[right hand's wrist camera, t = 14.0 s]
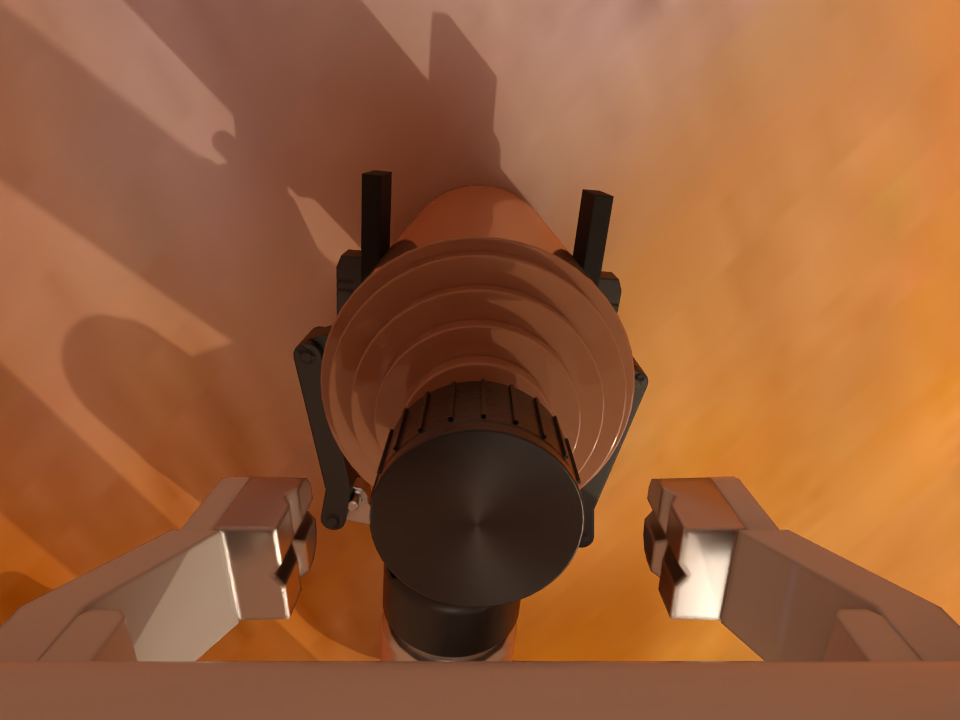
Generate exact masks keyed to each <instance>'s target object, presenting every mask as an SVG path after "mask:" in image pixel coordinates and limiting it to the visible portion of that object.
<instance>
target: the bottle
mask: <svg viewBox="0 0 960 720" xmlns="http://www.w3.org/2000/svg"><path fill="white" fill-rule="evenodd" d="M481 379H485V381H491V382H495V383H501V384H504V385H508V386H510V384H512V385H514V388H516V389H519V390H521V391H523V392H525V393H526V394H528V395H530V396H532V397H533V398H535V397H537V398H539V401H540V403H541V404H542V405H543V406H544V407H545V408H546V409H547V410H548V411H549V412H550V413H551V414H552V416H553V417H554V416H555V415H556V416H557V418H558V421H559V424H560V428H561V430H562V432H563V435H564V438H568V440H569V443H570V447H571V450H572V453H573V457H574V460H575V464H576V467H577V470H578V474H579V477H580V480H581V483H580V484H578V486H579V489H581V488H582V487H584V486H585V485H586V484H587V483H588V482H589V481H590V480H591V479H592V478H593V477H594V476H595V475H596V474H597V473H598V472H599V471H600V470H601V469H602V467H603V466H604V465H605V464H606V462H607V461H608V460H609V459H610V457H611V455H612V454H613V452H614V450H615V449H616V447H617V446H618V444H619V442H620V440H621V438H622V435H623V433H624V431H625V429H626V426H627V423H628V420H629V416H630V413H631V409H632V404H633V397H634V390H635V370H634V363H633V356H632V351H631V347H630V344H629V341H628V337H627V334H626V331H625V329H624V327H623V325H622V323H621V321H620V319H619V316H618V314H617V313H616V311H615V310H614V308H613V307H612V305H611V304H610V302H609V301H608V299H607V298H606V296H605V295H604V294H603V293H602V292H601V290H600V289H599V288H598V287H597V285H596V284H595V283H594V282H593V280H592V279H591V278H590V277H589V276H588V274H587V273H586V272H585V271H584V269H583V268H582V267H581V266H580V265H579V263H578V262H577V261H576V260H575V258H574V257H573V256H572V255H571V253H570V252H569V251H568V250H567V249H566V247H565V246H564V245H563V244H562V242H561V241H560V240H559V239H558V238H557V236H556V235H555V234H554V233H553V231H552V230H551V229H550V228H549V226H548V225H547V224H546V223H545V222H544V220H543V219H542V218H541V217H540V215H539V214H538V213H537V212H536V211H535V210H534V209H533V208H532V207H531V206H530V205H529V204H528V203H527V202H526V201H524V200H523V199H521V198H520V197H518V196H517V195H515V194H513V193H511V192H508V191H506V190H503V189H500V188H497V187H491V186H480V185H475V186H465V187H461V188H457V189H454V190H451V191H449V192H446V193H444V194H442V195H441V196H439V197H437V198H436V199H434V200H433V201H432V202H430V203H429V204H428V205H427V206H426V207H425V208H424V209H423V210H422V211H421V212H420V213H419V214H418V215H417V217H416V218H415V219H414V220H413V221H412V223H411V224H410V225H409V226H408V227H407V229H406V230H405V231H404V232H403V233H402V235H401V236H400V237H399V238H398V239H397V241H396V242H395V243H394V244H393V245H392V247H391V248H390V249H389V250H388V251H387V252H386V254H385V255H384V256H383V257H382V258H381V260H380V261H379V262H378V263H377V264H376V266H375V267H374V268H373V269H372V270H371V272H370V273H369V274H368V275H367V276H366V278H365V279H364V280H363V281H362V282H361V284H360V285H359V286H358V287H357V288H356V289H355V291H354V292H353V293H352V295H351V296H350V297H349V299H348V300H347V301H346V303H345V304H344V305H343V307H342V308H341V310H340V312H339V314H338V316H337V318H336V319H335V321H334V323H333V325H332V328H331V330H330V333H329V336H328V338H327V341H326V345H325V349H324V354H323V359H322V367H321V392H322V401H323V406H324V410H325V415H326V419H327V421H328V424H329V427H330V429H331V432H332V435H333V437H334V439H335V440H336V442H337V444H338V446H339V448H340V450H341V452H342V453H343V454H344V456H345V457H346V459H347V460H348V461H349V463H350V464H351V466H352V467H353V468H354V469H355V470H356V471H357V472H358V473H359V474H360V475H361V477H362V478H363V479H364V480H365V481H367V482H368V483H369V484H370V485H371V486H372V487H373V486H374V483H375V479H376V476H377V469H378V466H379V463H380V460H381V457H382V453H383V450H384V447H385V444H386V440H387V437H388V434H389V431H390V429H393V430H394V427H395V425H396V424H397V422H398V421H399V419H400V418H401V416H402V413H403V410H404V409H405V408H407V409H408V408H409V407H410V406H411V405H413V404H414V403H415V402H416V401H417V400H419V399H420V398H421V397H423V396H424V394H425V392H427V391H429V393H430V392H432V391H434V390H436V389H438V388H441V387H444V386H447V385H449V384H451V383H452V382H454V381H456V383H459V382H466V381H481Z"/></svg>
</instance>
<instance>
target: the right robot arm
mask: <svg viewBox="0 0 960 720" xmlns="http://www.w3.org/2000/svg"><path fill="white" fill-rule="evenodd" d="M312 499H313V497H312V491H311V485H310V482H309V481H308V479H307V478H278V477H253V478H252V477H226V478H222V479H221V480H220V481H219V482H218V483H217V485H216V486H215V487H214V488H213V490H212V491H211V492H210V493H209V495H208V496H207V497H206V498H205V500H204V501H203V502H202V503H201V505H200V506H199V507H198V508H197V510H196V511H195V512H194V513H193V515H192V516H191V517H190V518H189V520H188V521H187V522H186V524H185V525H184V526H183V527H182V529H181V530H171V531H169V532H167V533H165V534H163V535H161V536H159V537H157V538H155V539H153V540H151V541H149V542H147V543H145V544H143V545H141V546H139V547H137V548H135V549H133V550H131V551H129V552H127V553H125V554H123V555H121V556H119V557H117V558H115V559H113V560H111V561H109V562H107V563H105V564H103V565H102V566H100V567H98V568H96V569H94V570H92V571H90V572H88V573H86V574H84V575H82V576H80V577H78V578H76V579H74V580H72V581H70V582H68V583H66V584H64V585H62V586H60V587H58V588H56V589H54V590H52V591H50V592H48V593H46V594H44V595H42V596H40V597H38V598H36V599H34V600H32V601H30V602H28V603H27V604H25V605H23V606H21V607H19V608H18V609H17V610H16V611H15V612H14V613H13V614H12V615H11V616H10V617H9V618H8V619H7V620H6V621H5V622H4V623H3V624H2V625H1V626H0V720H960V626H959V625H958V624H957V623H956V622H955V621H954V620H953V619H952V618H951V617H950V616H949V615H948V614H947V613H946V612H945V611H944V610H943V609H942V608H941V607H939V606H937V605H935V604H933V603H931V602H929V601H927V600H925V599H923V598H921V597H919V596H917V595H915V594H913V593H911V592H909V591H907V590H905V589H904V588H902V587H900V586H898V585H896V584H894V583H892V582H890V581H888V580H886V579H884V578H882V577H880V576H878V575H876V574H874V573H872V572H870V571H868V570H866V569H864V568H862V567H860V566H858V565H856V564H854V563H852V562H850V561H848V560H846V559H845V558H843V557H841V556H839V555H837V554H835V553H833V552H831V551H829V550H827V549H825V548H823V547H821V546H819V545H817V544H815V543H813V542H811V541H809V540H807V539H805V538H803V537H801V536H799V535H797V534H795V533H793V532H791V531H789V530H779V529H778V527H777V526H776V525H775V524H774V522H773V521H772V520H771V519H770V517H769V516H768V515H767V514H766V512H765V511H764V510H763V509H762V507H761V506H760V505H759V504H758V502H757V501H756V500H755V499H754V497H753V496H752V495H751V494H750V492H749V491H748V490H747V489H746V487H745V486H744V485H743V484H742V482H741V481H740V480H739V479H738V478H735V477H733V476H731V477H706V478H671V479H652V480H651V482H650V485H649V490H648V497H647V499H648V501H649V503H650V505H651V507H652V510H653V511H652V512H651V513H650V514H649V515H648V516H647V517H646V518H645V522H644V533H643V536H644V550H645V554H646V559H647V562H648V565H649V567H650V570H651V571H652V572H653V573H654V574H656V575H657V576H658V577H660V581H659V589H658V590H659V592H660V594H661V597H662V599H663V602H664V604H665V606H666V609H667V611H668V614H669V616H670V618H671V619H700V620H721V623H722V624H723V625H724V626H726V627H727V628H728V629H729V630H730V631H731V632H732V633H734V634H735V635H736V636H737V637H738V638H739V639H740V640H742V641H743V642H744V643H745V644H746V645H747V646H748V647H749V648H751V649H752V650H753V651H754V652H755V653H756V654H757V655H759V656H760V657H761V658H762V659H763V660H764V661H196V660H197V659H198V658H199V657H201V656H202V655H203V654H204V653H205V652H206V651H207V650H209V649H210V648H211V647H212V646H213V645H214V644H215V643H216V642H218V641H219V640H220V639H221V638H222V637H223V636H224V635H226V634H227V633H228V632H229V631H230V630H231V629H232V628H234V627H235V626H236V625H237V624H238V623H239V620H259V619H290V616H291V614H292V611H293V609H294V607H295V604H296V602H297V599H298V597H299V594H300V592H301V590H302V589H301V581H300V577H302V576H303V575H304V574H306V573H307V572H308V571H309V570H310V567H311V565H312V562H313V559H314V554H315V548H316V522H315V518H314V517H313V516H312V515H311V514H310V513H309V512H308V511H307V510H308V507H309V505H310V503H311V501H312Z"/></svg>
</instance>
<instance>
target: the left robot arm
mask: <svg viewBox="0 0 960 720" xmlns="http://www.w3.org/2000/svg"><path fill="white" fill-rule="evenodd" d="M391 178H392V172H386V171H375V170H374V171H370V172H367V173H363V174H362V227H361V251H360V250H347V251H346V252H345V253H344V254H343V255H341V258H340V260H339V262H338V265H337V316H338V314H339V312H340V310H341V308H342V307H343V305H344V304H345V303H346V301H347V300H348V299H349V297H350V296H351V295H352V293H353V292H354V291H355V289H356V288H357V287H358V286H359V285H360V284H361V282H362V281H363V280H364V279H365V278H366V276H367V275H368V274H369V273H370V272H371V270H372V269H373V268H374V267H375V266H376V264H377V263H378V262H379V261H380V260H381V258H382V257H383V256H384V255H385V254H386V252H387V251H388V250H389V249H390V215H391ZM613 197H614V196H611V195H609V194H606V193H604V192H601V191H596V190H585V189H583V191H582V198H581V205H580V211H579V218H578V225H577V232H576V238H575V245H574V252H573V257H574V258H575V260H576V261H577V262H578V263H579V265H580V266H581V267H582V268H583V269H584V271H585V272H586V273H587V274H588V276H589V277H590V278H591V279H592V280H593V282H594V283H595V284H596V285H597V287H598V288H599V289H600V290H601V292H602V293H603V294H604V295H605V296H606V298H607V299H608V301H609V302H610V304H611V305H612V307H613V308H614V310H615V311H616V313H617V312H618V307H619V302H620V296H621V287H620V283H619V279H618V278H617V277H616V276H615V275H614V274H613V273H612V272H603V271H601V269H602V263H603V257H604V251H605V245H606V239H607V233H608V227H609V221H610V215H611V209H612V203H613ZM331 328H332V325H331V326H328V327H320V326H319V327H315V328H314V329H312V330H311V331H310V332H309V334H308V335H307V336H306V337H305V338H304V339H303V340H302V341H301V342H300V344H299V345H298V346H297V347H296V348H295V350H294V361H295V365H296V369H297V373H298V377H299V381H300V385H301V390H302V394H303V398H304V402H305V406H306V410H307V414H308V418H309V422H310V427H311V431H312V435H313V439H314V443H315V447H316V451H317V455H318V459H319V464H320V468H321V472H322V476H323V480H324V484H325V488H326V491H325V497H324V503H323V509H322V514H321V522H322V524H323V525H324V526H325V527H326V528H328V529H331V530H337V529H340V528H341V527H343V526H344V524H345V521H346V520H349V521H354V522H359V523H364V524H369V525H370V518H369V514H370V505H371V500H370V496H371V486H370V484H369V483H368V482H367V481H365V480H364V479H363V478H362V477H361V475H359V473H358V472H357V471H356V470H355V469H354V468H353V467H352V466H351V464H350V463H349V461H348V460H347V459H346V457H345V456H344V454H343V453H342V452H341V450H340V448H339V446H338V444H337V442H336V440H335V439H334V437H333V435H332V432H331V429H330V427H329V424H328V421H327V419H326V415H325V410H324V406H323V401H322V392H321V367H322V359H323V354H324V349H325V345H326V341H327V338H328V336H329V333H330V330H331ZM633 363H634V370H635V390H634V397H633V404H632V409H631V413H630V416H629V420H628V423H627V426H626V429H625V431H624V433H623V435H622V438H621V440H620V442H619V444H618V446H617V447H616V449H615V450H614V452H613V454H612V455H611V457H610V459H609V460H608V461H607V462H606V464H605V465H604V466H603V467H602V469H601V470H600V471H599V472H598V473H597V474H596V475H595V476H594V477H593V478H592V479H591V480H590V481H589V482H588V483H587V484H586V485H585V486H584V487H582V488H581V489H580V492H581V496H582V500H583V505H584V518H585V521H584V530H583V535H582V538H581V542H580V545H579V547H581V548H582V547H587V546H588V545H590V544H591V543H592V542H593V539H594V508H595V506H596V504H597V501H598V499H599V497H600V494H601V492H602V490H603V487H604V485H605V483H606V480H607V478H608V476H609V474H610V471H611V469H612V467H613V464H614V462H615V460H616V457H617V455H618V453H619V450H620V448H621V446H622V443H623V441H624V439H625V436H626V434H627V432H628V429H629V427H630V425H631V423H632V420H633V418H634V416H635V413H636V411H637V409H638V406H639V404H640V402H641V399H642V397H643V395H644V392H645V390H646V388H647V385H648V378H647V376H646V374H645V373H644V371H643V370H642V369H641V367H640V366H639V364H638V363H637V362H636V360H635V359H634V358H633ZM520 600H521V599H520ZM520 600H518V601H514V602H511V603H507V604H502V605H497V606H488V607H465V606H457V605H452V604H447V603H443V602H440V601H437V600H434V599H431V598H429V597H427V596H424V595H422V594H420V593H418V592H416V591H415V590H413V589H412V588H410V587H408V586H407V585H406V584H404V583H403V582H402V581H401V580H399V579H398V578H397V577H396V576H395V575H394V574H393V573H392V572H391V571H390V570H389V568H388V567H387V566H386V564H385V563H384V582H383V609H384V612H383V617H382V661H512V657H513V650H514V643H515V637H516V626H517V618H518V614H519V607H520Z"/></svg>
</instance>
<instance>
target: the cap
mask: <svg viewBox="0 0 960 720" xmlns="http://www.w3.org/2000/svg"><path fill="white" fill-rule="evenodd" d="M580 483H581V480H580V477H579V474H578V470H577V467H576V464H575V460H574V457H573V453H572V450H571V447H570V443H569V440H568V438H564V435H563V432H562V430H561V428H560V424H559V421H558V418H557V416H556V415H555V416H554V417H553V416H552V414H551V413H550V412H549V411H548V410H547V409H546V408H545V407H544V406H543V405H542V404H541V403H540V401H539V398H537V397H535V398H533V397H532V396H530V395H528V394H526V393H525V392H523V391H521V390H519V389H516V388H514V385H512V384H510V386H508V385H504V384H501V383H495V382H491V381H485V379H481V381H466V382H459V383H456V381H454V382H452V383H451V384H449V385H447V386H444V387H441V388H438V389H436V390H434V391H432V392H430V393H429V391H427V392H425V394H424V396H423V397H421V398H420V399H419V400H417V401H416V402H415V403H414V404H413V405H411V406H410V407H409V408H408V409H407V408H405V409H404V410H403V413H402V416H401V418H400V419H399V421H398V422H397V424H396V425H395V427H394V430H393V429H390V431H389V434H388V437H387V440H386V444H385V447H384V450H383V453H382V457H381V460H380V463H379V466H378V469H377V476H376V479H375V483H374V486H373V489H372V492H371V496H370V500H371V505H370V514H369V518H370V529H371V534H372V539H373V541H374V544H375V547H376V549H377V551H378V553H379V555H380V557H381V559H382V560H383V562H384V563H385V564H386V566H387V567H388V568H389V570H390V571H391V572H392V573H393V574H394V575H395V576H396V577H397V578H398V579H399V580H401V581H402V582H403V583H404V584H406V585H407V586H408V587H410V588H412V589H413V590H415V591H416V592H418V593H420V594H422V595H424V596H427V597H429V598H431V599H434V600H437V601H440V602H443V603H447V604H452V605H457V606H465V607H488V606H497V605H502V604H507V603H511V602H514V601H518V600H520V599H523V598H525V597H528V596H530V595H532V594H534V593H536V592H538V591H539V590H541V589H543V588H544V587H546V586H547V585H548V584H550V583H551V582H552V581H554V580H555V579H556V578H557V577H558V576H559V575H560V574H561V573H562V572H563V571H564V570H565V568H566V567H567V566H568V565H569V563H570V562H571V560H572V559H573V557H574V555H575V553H576V551H577V549H578V547H579V545H580V542H581V538H582V535H583V530H584V521H585V518H584V505H583V500H582V496H581V492H580V489H579V486H578V484H580Z"/></svg>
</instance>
